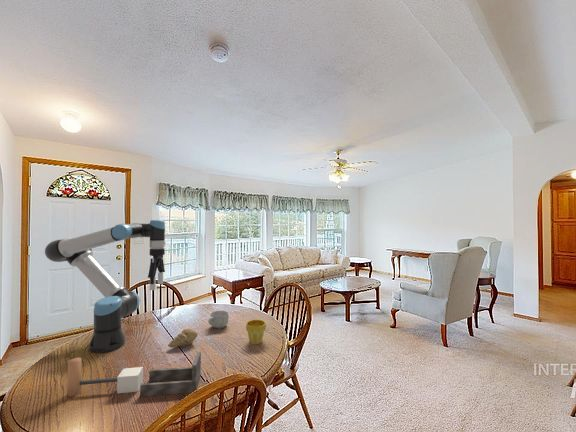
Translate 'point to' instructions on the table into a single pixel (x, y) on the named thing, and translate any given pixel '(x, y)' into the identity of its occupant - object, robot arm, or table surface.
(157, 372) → the shelf lane
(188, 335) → the seashell
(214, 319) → the teacup
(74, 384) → the push rod with block
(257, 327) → the plant pot
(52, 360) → the table surface
